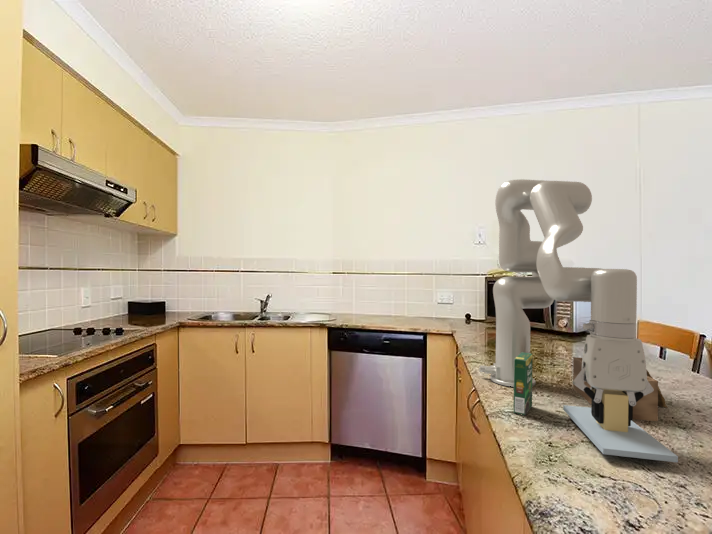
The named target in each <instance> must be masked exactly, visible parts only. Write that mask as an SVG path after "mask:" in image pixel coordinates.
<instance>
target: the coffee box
mask: <svg viewBox="0 0 712 534" xmlns="http://www.w3.org/2000/svg"><path fill="white" fill-rule="evenodd" d="M533 362H534V357H533V353H531V352H530V353H524V352H521V353H520V354H519V355H518V356H517V357H516V358H515V359H514V387H513V414H514V413H518V414H517V415H519V414H522V415H521V416H523V415H525V416H526V415H527V414H528V412H530V410H531V408H532V407H533V386H532V378H533Z"/></svg>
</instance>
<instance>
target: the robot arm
mask: <svg viewBox="0 0 712 534" xmlns="http://www.w3.org/2000/svg"><path fill="white" fill-rule="evenodd" d="M497 189H498V190H497V191H496V195H495V202H494V203H495V213H496V217H497V220H498V225H499V228H498V229H499V233H498V239H499V240H498V261H499V266H500V268H501V269H502V270H504V271H506V272H509V273H510V272H512V273H531V274H532V275H531V276H513V275H512V276H504V277H501V278H499V279H497V280H496V281H495V283H494V284H493V287H492V294H493V295H492V296H493V301H494V307H495V362H493V365H490V366H488V365H479V372H480V373H484V374H487V375H488V374H490V376H489V377H490V378H489V379H490V381H491V382H493V383H495V384H498V385H501V386H505V387H510V386H511V388H514V359H515V358H516V357H517V356H518V355H519V354H520V353H521V352H524V353H530V354H531V321H530V320H529V318H528V316H527V315H526V313H525V311H524V310H523V309H546V308H549V307H550V306H551V305H553V303H554V301H557V302H566V303H567V302H569V303H571V302H573V303H574V302H583V303H590V319H589V321H588V322H587V323H582V324H583V325H582V329H583V330H584V331H588V332H589V334H587V335H586V338H585V342H584V346H583V352H582V357H581V358H582V370H581V372H580V373H579V374H578V375H577V377H576V378H575V379H574V380H573V379H572V385H573V384H574V385H575V386H576V387H578V388H579V389H581V390H582V391H584V392H585V393H586V394H587V395H588V396H589V397H590V398H591V399H592V401H591V404H590V406H591V407H590V408H591V414H592V416H593V417H594V419H595V420H596V421H597V422H598V423H600V424H603V423H604V405H603V403H601V402H602V400H601V399H602V395H603V390H604V389H605V390H617V391H622V392H623V393H625V394H626V395H628V426H631V421H633V420H634V419H633V406H635V405H636V402H637V401H639V400H640V399H641V398H642V397H643V396H644V395H647V394H649V393H651V392H653V391H654V389H653V388H652V386H651V385H650V383H649V382H648V380H647V371H648V369H647V363H646V355H645V350H644V346H643V341H642V339H641V338H640V339H639V338H637V306H638V305H637V303H638V302H637V299H638V298H637V297H638V296H637V295H638V291H637V290H638V288H637V287H638V279H637V278H638V277H637V273H636V272H635V271H634V270H631V269H627V268H624V269H623V268H601V267H600V268H599V267H579V266H578V267H576V266H575V267H569V266H568V267H567V266H565V267H563V264H562V262H561V260H560V257H559V255H558V251H557V250H558V248H561V247H563V246H566V245H568V244H570V243H572V242H574V241H575V240H577V239H578V238H579V237H580V236H581V235H582V233H583V231H584V225H583V222H582V221H581V218H580V216H579V215H582V214H584V213H586V212H587V211H588V210H589V209H590V207H591V205H592V201H593V195H592V192H591V189H590V188H589V187H588V186H587V184H585V183H584V182H580V181H568V180H566V181H565V180H543V179H541V180H539V179H524V178H523V179H522V178H521V179H510V180H508V181H504V182H503V183H502V184H501V185H500V186H499V188H497ZM522 210H528V211H529V210H530V211H533V212H534V215H535V217H536V220H537V222H538V225H539V228H540V229H541V232H542V235H543V237H544V238H543V240H542V241H541V240H540V241H539V240H531V234H530V232H531V227H530V223H529V221H528V219H527V216H526V215H525V214H524V213H523V212H522ZM646 369H647V370H646ZM584 381H586V382H587V383H588V384H590V386H591V388H589V387H587V386H586V385H584ZM536 382H537V381H536V380H535V378H533V377H532V387H534V386H535V385H536Z"/></svg>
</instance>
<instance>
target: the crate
mask: <svg viewBox="0 0 712 534" xmlns="http://www.w3.org/2000/svg"><path fill="white" fill-rule="evenodd" d="M582 358H583V357H575V356H574V357H572V362H573V365H572V381H573V380H574V379H575V378H576V377H577V375H578V374H579V373H580V372H581V370H582ZM651 377H652V376H651ZM651 377H649V376H647V380H648V382H649V383H650V385H651V386H652V388H653V389H654V391H653V392H651V393H649V394H647V395H644V396H643V397H642V398H641V399H640V400H639V401H637V402H636V405H635V406H633V420H639V421H649V422H658V421H659V419H658V418H659V416H658V415H659V406H658V386H659V381H658V380H656V379H655V378H653V377H652V378H651ZM584 385H586V386H587V387H589V388H591V386H590V384H588V383H587V382H586V381H584ZM572 389H573V390H574V392H576V393H577V394H578V395H579V396H581V397H582V398H583V400H585V401H586V402H587V403H589V404H590V405H591V401H592V399H591V398H590V397H589V396H588V395H587V394H586V393H585V392H584V391H582V390H581V389H579V388H578V387H576V386H575V385H574V384H573V383H572Z"/></svg>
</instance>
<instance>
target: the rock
mask: <svg viewBox="0 0 712 534" xmlns="http://www.w3.org/2000/svg"><path fill="white" fill-rule="evenodd" d="M646 370H647V376H649V377H651V378H653V377H652V375H651V374H650V372H649V370H648V369H647V368H646ZM660 407H661V408H667V409H668V408H669V406H668V405H667V404H666V399H665V397H664V396H663V394H662V391H661V388H660V387H659V385H658V408H660Z"/></svg>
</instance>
